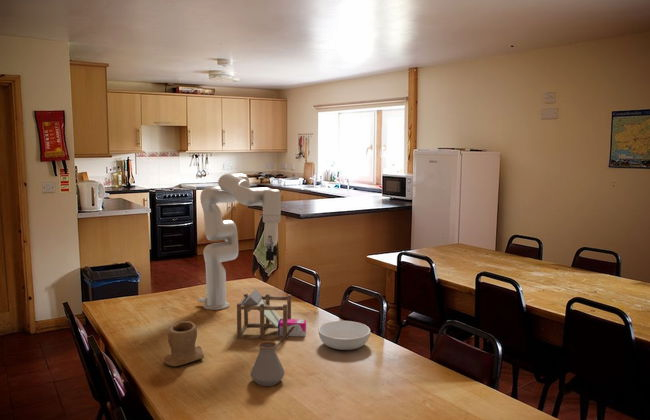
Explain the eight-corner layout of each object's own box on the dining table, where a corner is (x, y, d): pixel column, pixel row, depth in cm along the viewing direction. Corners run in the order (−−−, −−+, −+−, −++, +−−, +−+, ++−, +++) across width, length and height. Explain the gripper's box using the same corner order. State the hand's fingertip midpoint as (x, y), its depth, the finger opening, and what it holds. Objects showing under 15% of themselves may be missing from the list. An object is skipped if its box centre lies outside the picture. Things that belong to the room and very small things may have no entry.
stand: (237, 338, 220) (236, 304, 218) (244, 325, 236) (244, 293, 234) (286, 339, 219) (286, 305, 217) (291, 326, 235) (291, 294, 233)
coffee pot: (270, 391, 172) (269, 347, 171) (243, 383, 179) (242, 340, 177) (307, 369, 190) (308, 328, 188) (282, 361, 196) (282, 322, 194)
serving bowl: (309, 351, 207) (309, 333, 206) (329, 333, 226) (329, 318, 226) (360, 359, 199) (360, 341, 199) (376, 340, 219) (377, 324, 218)
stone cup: (173, 372, 187) (172, 331, 185) (159, 361, 196) (158, 322, 194) (212, 361, 196) (211, 322, 194) (197, 352, 205) (196, 314, 203)
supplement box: (279, 331, 229) (306, 332, 228) (277, 336, 223) (305, 337, 222) (280, 318, 228) (306, 319, 227) (278, 322, 222) (305, 323, 221)
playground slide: (241, 305, 220) (250, 296, 219) (247, 297, 233) (255, 288, 232) (270, 333, 221) (279, 324, 220) (275, 323, 233) (283, 315, 233)
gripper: (266, 215, 234) (266, 253, 236) (259, 221, 217) (259, 262, 219) (283, 215, 234) (282, 253, 236) (277, 221, 217) (277, 262, 219)
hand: (271, 257), depth 228 cm, fingers open, 9 cm apart
